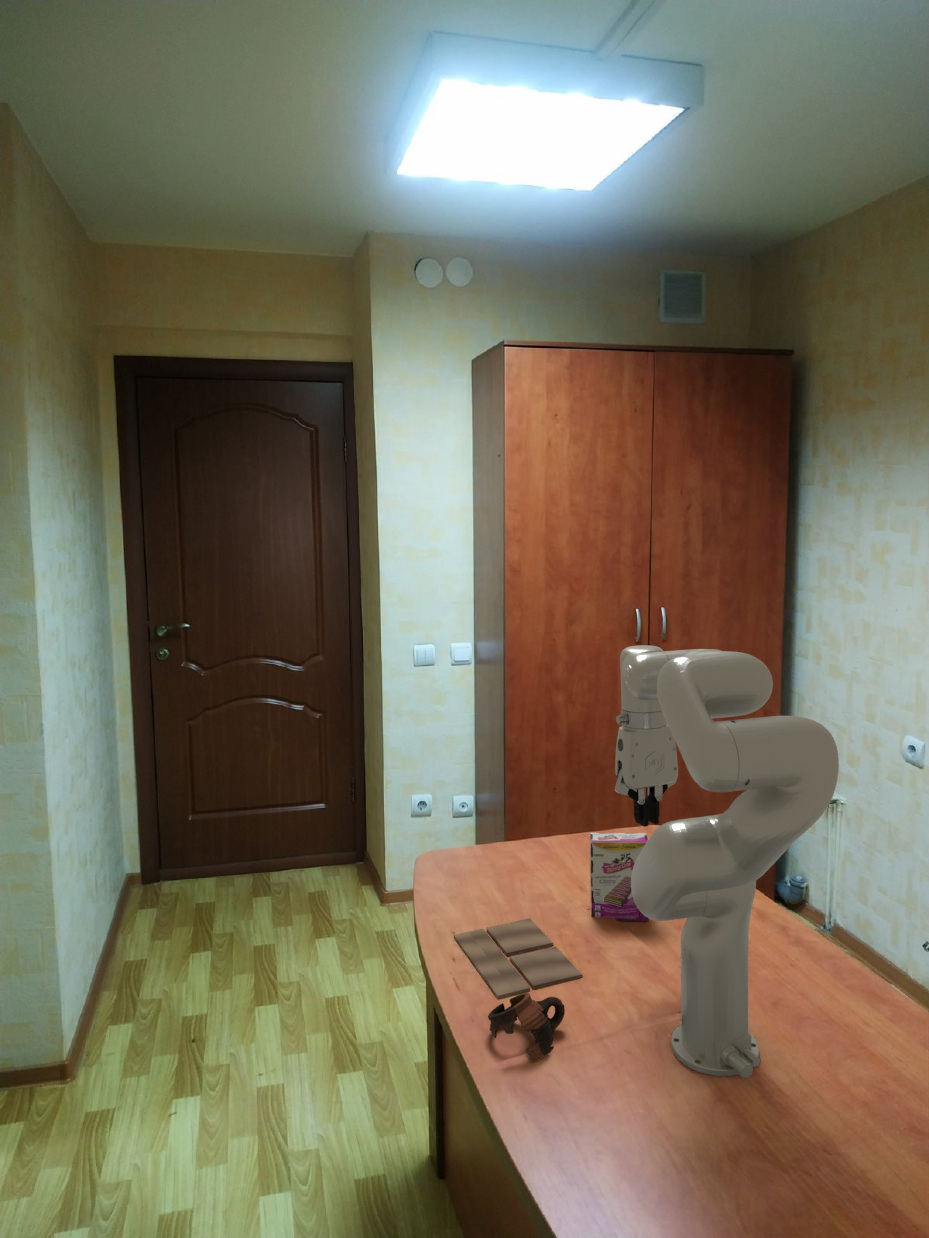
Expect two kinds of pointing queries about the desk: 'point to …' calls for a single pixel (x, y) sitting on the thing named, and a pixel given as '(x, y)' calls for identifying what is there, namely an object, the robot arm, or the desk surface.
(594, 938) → the desk surface
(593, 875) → the candy bar box
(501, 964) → the laid strip
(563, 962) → the plank
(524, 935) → the plank
